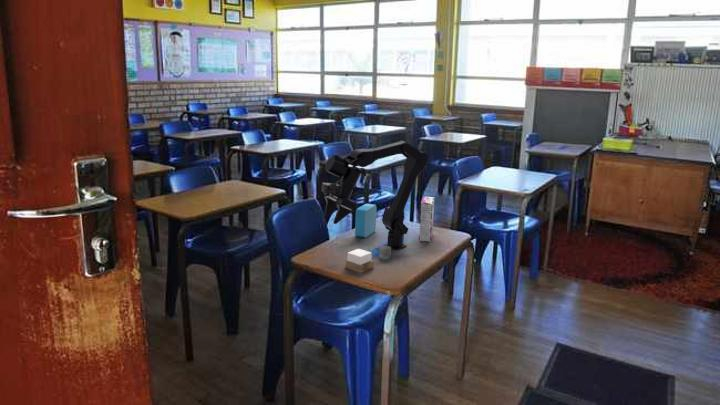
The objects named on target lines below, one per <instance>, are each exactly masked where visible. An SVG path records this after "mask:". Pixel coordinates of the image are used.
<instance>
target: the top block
mask: <svg viewBox="0 0 720 405" xmlns="http://www.w3.org/2000/svg"><path fill="white" fill-rule="evenodd" d="M372 256H373V254H372V252H371V251H368V250H364V249H362V248H355V249H353V250H352V251H348V252H347V261H350V262H353V263H356V264H359V265H362V264H364V263H367V262H369V261H371V260H372Z"/></svg>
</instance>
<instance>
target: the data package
mask: <svg viewBox="0 0 720 405" xmlns="http://www.w3.org/2000/svg"><path fill="white" fill-rule="evenodd" d="M354 225H355V226H354V227H355V228H354V235H355V236H356V237H357V238H359V237H360V238H364V239H365V238H368V237H369V236H371V235H372V234H373V233H375V231H376V229H377V205H376V204H372V203H365V204H363V205H361V206H359V207H357V208H356V210H355V224H354Z"/></svg>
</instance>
